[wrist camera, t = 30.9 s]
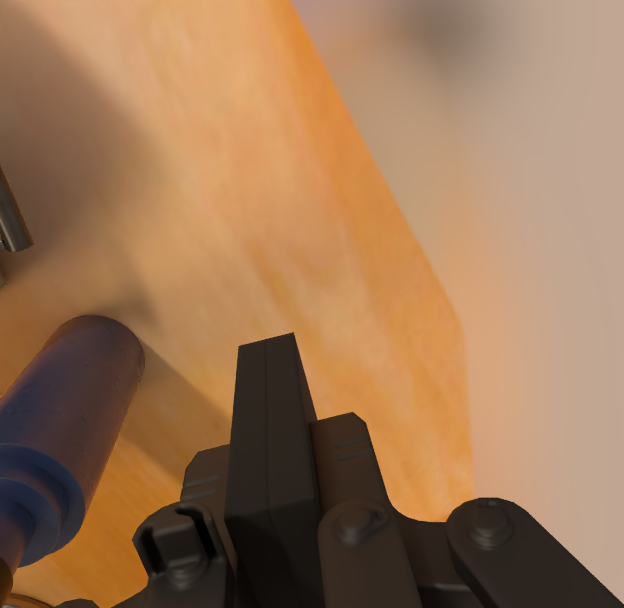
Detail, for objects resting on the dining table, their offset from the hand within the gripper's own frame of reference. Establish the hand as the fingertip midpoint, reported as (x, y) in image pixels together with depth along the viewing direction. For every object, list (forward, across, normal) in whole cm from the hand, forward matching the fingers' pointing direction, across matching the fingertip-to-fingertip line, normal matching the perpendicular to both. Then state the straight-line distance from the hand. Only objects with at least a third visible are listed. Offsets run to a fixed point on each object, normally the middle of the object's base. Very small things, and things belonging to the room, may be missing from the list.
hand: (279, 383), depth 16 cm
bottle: (+26, -15, -8) cm, 32 cm away
